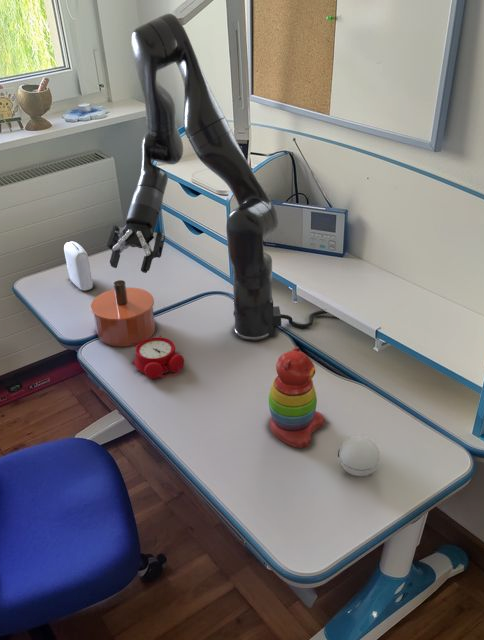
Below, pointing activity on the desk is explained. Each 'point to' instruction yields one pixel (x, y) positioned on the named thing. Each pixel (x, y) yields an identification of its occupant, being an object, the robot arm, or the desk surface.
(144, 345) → the alarm clock
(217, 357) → the desk surface
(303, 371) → the stacking bear
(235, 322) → the robot arm
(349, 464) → the seamed sphere
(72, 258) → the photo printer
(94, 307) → the lid
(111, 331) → the orange cylindrical pot
